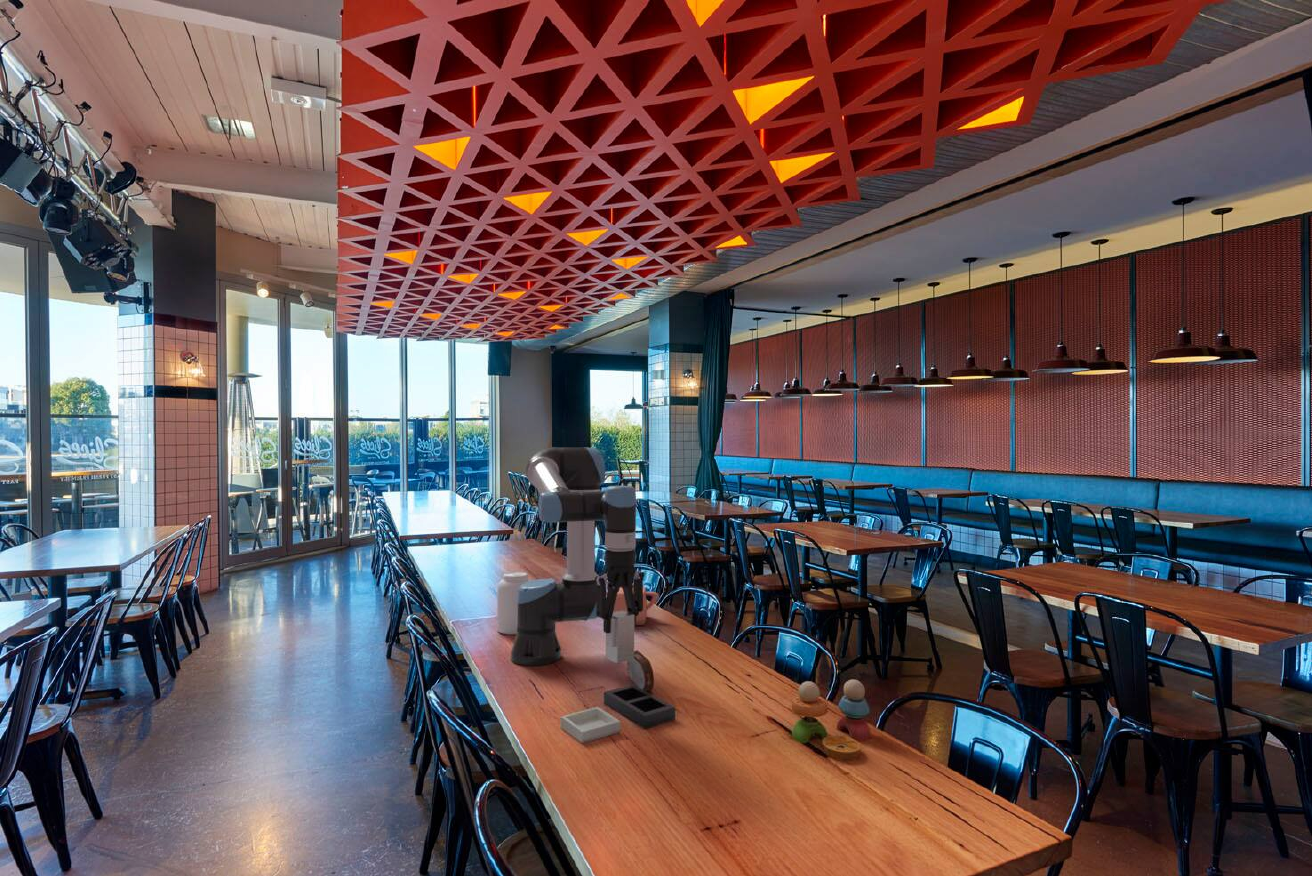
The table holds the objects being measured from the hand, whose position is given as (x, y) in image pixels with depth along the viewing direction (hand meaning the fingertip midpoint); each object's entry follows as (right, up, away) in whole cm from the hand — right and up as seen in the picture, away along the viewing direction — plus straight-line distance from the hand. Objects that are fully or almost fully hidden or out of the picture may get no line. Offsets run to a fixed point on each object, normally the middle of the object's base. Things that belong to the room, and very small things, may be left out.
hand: (619, 643), depth 161 cm
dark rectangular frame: (+5, -17, +1) cm, 18 cm away
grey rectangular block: (0, -4, 0) cm, 4 cm away
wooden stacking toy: (+50, -18, -14) cm, 55 cm away
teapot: (-1, -18, +85) cm, 87 cm away
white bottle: (-41, -17, +70) cm, 82 cm away
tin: (+4, -18, +18) cm, 26 cm away
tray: (-6, -17, -9) cm, 20 cm away
